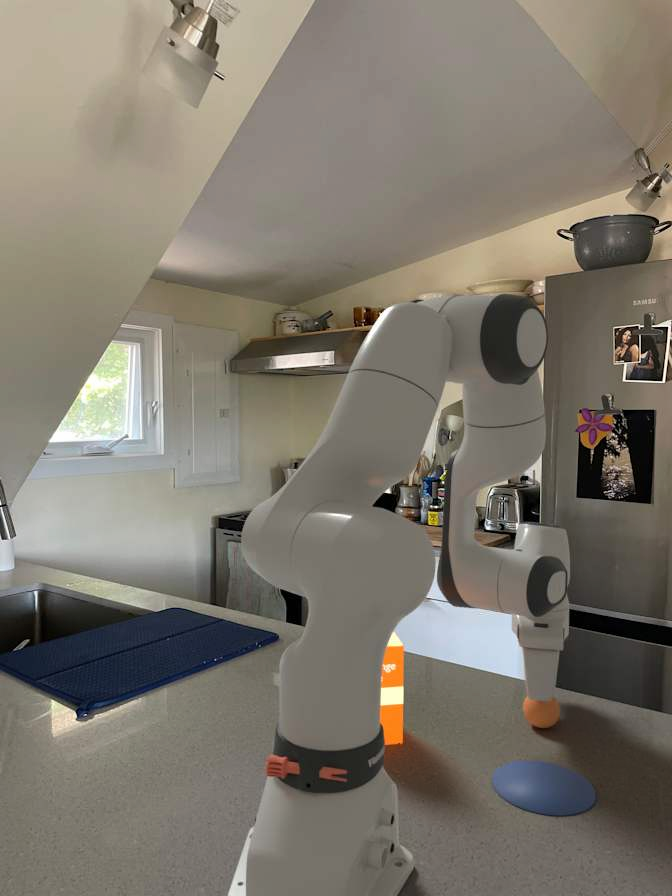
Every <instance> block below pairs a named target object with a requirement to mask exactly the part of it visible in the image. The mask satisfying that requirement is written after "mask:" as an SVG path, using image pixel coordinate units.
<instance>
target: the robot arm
mask: <svg viewBox="0 0 672 896" xmlns="http://www.w3.org/2000/svg"><path fill="white" fill-rule="evenodd" d="M548 331H549V330H548V324H547V320H546V317H545V315H544V313H543V312H542V310H541V309H540V308H539V306H538V305H537V304H536V302H534V300H533V299H531V298H530V297H526V296H524V295H523V296H522V295H517V294H511V293H510V294H509V293H501V294H498V295H485V294H473V295H472V294H469V295H465V294H451V295H444V296H439V297H438V296H437V297H433V298H428V299H420V298H419V299H413V300H410V301H406V302H399V303H396V304H392V305H391V306H389V307H387V308H386V309H385V310H383V312H381V314H380V315H379V317H378V318H377V319H376V321H375V322H374V324H373V325H372V327H371V328H370V329H369V332H368V333H367V335H366V337H365V338H364V340H363V341H362V344H361V345H360V348H359V349H358V351H357V353H356V355H355V357H354V359H353V362H352V363H351V366H350V368H349V371H348V372H347V373H348V374H347V376H346V377H345V379H344V380H345V381H343V385H342V387H341V389H340V392H339V395H338V397H337V400H336V402H335V404H334V406H333V409H332V411H331V413H330V416H329V418H328V420H327V421H326V422H327V423H326V424H325V427H324V429H323V431H322V433H321V435H320V436H319V439H318V440H317V442H315V445H314V446H313V448H312V449H311V451H310V452H309V454H307V456H306V458H304V460H303V462H301V464H300V465H299V467H298V468H297V469H296V470H295V472H294V473H293V474H292V475H291V477H290V478H289V479H288V480H287V481H286V483H285V484H284V485H283V486H282V487H281V488H279V490H278V491H277V492H276V493H274V494H273V495H272V496H270V497H268V498H267V499H265V500H264V501H261V502H260V503H259V504H257V505H256V506H255V507H254V508H253V509H252V510H251V512H250V513H249V514H248V515H247V518H246V519H245V522H244V524H243V528H242V530H241V536H240V544H241V545H240V546H241V547H240V548H241V552H242V555H243V558H244V560H245V561H246V564H247V565H248V566H249V568H250V569H251V570H253V572H255V573H256V574H258V575H259V577H261V578H262V579H263V580H265V581H266V582H268V583H269V584H271V585H272V586H273V587H275V588H278V589H279V590H284V591H286V592H289V593H292V594H295V595H296V596H297V595H298V596H300V597H304V598H306V600H307V602H308V614H307V619H306V624H305V626H304V627H305V628H304V629H303V634H302V636H301V637H300V638H298V639H296V640H295V641H293V642H292V643H291V644H290V645H289V646H287V647H286V648H285V650H284V651H283V653H282V656H281V657H280V660H279V667H278V668H279V669H278V670H279V672H278V673H279V674H278V675H279V676H278V677H279V678H278V679H279V680H278V682H279V684H278V685H279V689H278V690H279V691H278V700H279V701H278V705H279V706H278V707H279V709H278V715H279V716H278V719H279V720H278V723H277V724H276V727H275V734H274V738H273V740H272V748H271V749H272V751H271V753H272V754H270V755H269V756H268V758H267V761H266V764H265V765H266V766H265V774H266V776H267V777H266V781H265V786H264V788H263V792H262V795H261V799H260V804H259V806H258V811H257V814H256V816H255V817H254V825H253V826H252V827H251V828H250V829H249V830H248V832H247V836H246V839H245V842H244V844H243V848H242V851H241V854H240V856H239V859H238V863H237V865H236V868H235V871H234V874H233V877H232V880H231V884H230V886H229V889H228V893H227V895H226V896H398V895H399V894H400V892H401V890H402V888H403V887H404V885H405V884H406V882H407V880H408V879H409V877H410V876H411V873H412V872H413V870H414V868H415V861H414V859H415V858H414V855H413V854H412V852H411V851H409V850H408V849H407V848H406V847H404V846H403V845H402V844H400V834H399V833H400V832H399V831H400V830H399V827H400V826H399V801H398V797H399V795H398V787H397V785H396V784H395V782H394V780H393V779H391V777H390V775H389V774H388V773H387V771H386V770H385V768H384V762H385V750H386V745H385V738H384V729H383V726H382V724H381V723H380V708H381V682H382V667H383V661H384V656H385V652H386V648H387V645H388V642H389V640H390V637H391V635H392V633H393V631H394V632H395V629H396V627H397V626H398V625H399V624H400V622H401V621H402V620H403V619H404V618H405V617H407V616H409V615H410V614H411V613H413V612H414V611H415V610H417V609H418V608H419V606H420V605H421V604H422V603H423V602H424V600H425V599H426V598H427V596H428V594H429V592H430V591H431V588H432V586H433V584H434V580H435V574H436V584H437V586H438V589H439V591H440V592H441V594H442V595H443V597H444V598H445V600H446V601H447V602H448V603H449V604H450V605H451V606H453V607H454V608H455V607H456V608H467V609H480V610H486V611H490V612H497V613H501V614H510V615H511V631H512V633H514V634H515V636H516V638H517V641H518V646H519V647H520V648H521V650H522V657H523V667H524V676H525V677H524V678H525V687H526V695H527V696H528V698H529V699H531V700H538V701H552V699H553V696H554V695H555V692H556V691H555V689H556V684H557V675H558V667H559V658H560V651H563V650H564V647H565V645H564V644H565V641H566V639H567V637H568V636H569V634H570V632H569V631H570V630H569V628H570V626H569V625H570V601H569V597H568V586H569V584H570V579H571V558H570V557H571V556H570V545H569V538H568V533H567V530H566V529H565V528H564V527H562V526H561V525H557V524H552V523H543V522H535V521H524V522H523V521H522V522H521V523H518V526H517V529H516V535H515V539H514V547H513V549H508V548H502V547H494V546H488V545H487V546H486V545H483V544H481V543H480V542H478V541H477V539H476V538H475V530H476V529H475V528H476V527H475V526H476V524H475V523H476V511H477V498H478V494H479V492H480V490H482V489H485V488H487V487H490V486H492V485H496V484H499V483H500V484H501V483H502V482H505V481H509V480H510V479H511V480H512V479H514V478H516V477H517V476H519V475H522V474H523V473H525V472H526V471H528V470H529V469H531V467H533V466H534V465H535V464H536V463H537V461H538V460H539V459H540V458H541V456H542V454H543V452H544V449H545V448H546V447H545V446H546V440H547V438H546V437H547V426H546V425H547V423H546V411H545V403H544V393H543V388H542V383H541V379H540V373H539V368H540V366H541V365H542V363H543V362H544V359H545V356H546V354H547V351H548V350H547V349H548V344H549V332H548ZM446 382H447V383H448V382H449V383H450V382H451V383H454V384H462V413H463V423H464V430H463V432H464V433H463V438H462V441H461V444H460V446H459V448H456V449H455V450H453V452H452V453H451V455H450V456H449V459H448V462H447V466H446V471H445V478H444V490H443V503H442V504H443V506H442V507H443V508H442V527H441V529H442V530H441V531H442V532H441V545H440V546H441V547H440V554H439V559H438V564H437V566H436V563H437V562H436V553H435V549H434V545H433V542H432V540H431V538H430V536H429V534H428V533H427V531H426V530H425V529H424V528H423V527H422V526H421V525H419V524H418V523H416V522H414V521H412V520H410V519H408V518H406V517H404V516H403V515H400V514H397V513H395V512H392V511H391V510H388V509H385V508H383V507H377V506H373V505H374V504H375V503H376V501H377V500H378V499H379V498H380V497H381V496H382V495H383V494H384V493H385V492H386V491H387V490H388V489H390V488H392V487H393V486H395V485H396V484H398V483H401V482H402V481H403V480H406V479H407V478H408V477H409V476H410V475H411V474H412V473H413V472H414V470H415V469H416V467H417V465H418V463H419V460H420V458H421V455H422V452H423V449H424V447H425V444H426V442H427V438H428V436H429V433H430V431H431V427H432V425H433V422H434V420H435V416H436V413H437V411H438V409H439V406H440V402H441V399H442V396H443V392H444V390H445V386H446ZM436 567H437V571H436ZM554 697H555V696H554Z"/></svg>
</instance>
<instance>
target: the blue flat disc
mask: <svg viewBox="0 0 672 896" xmlns="http://www.w3.org/2000/svg"><path fill="white" fill-rule="evenodd" d="M491 785H492V788H493V789H494V791H495V792H496V793H497V795H499V796H500V798H502V799H504V800H505V802H507V803H509V804H511V805H513V806H515V807H517V808H519V809H522V810H525V811H528V812H531V813H536V814H540V815H545V816H557V817H558V816H559V817H560V816H563V817H565V816H573V815H577V814H580V813H583V812H586V811H588V810H589V809H591V808H592V806H593V805H594V804H595V803H596V799H597V793H596V792H597V791H596V789H595V787H594V786H593V784H592V783H591V782H590V781H589V780H588V779H587V778H585V777H584V775H581V774H580V773H578V772H577V771H574V770H573V769H570V768H568V767H566V766H562V765H559V764H555V763H551V762H547V761H539V760H520V761H519V760H518V761H513V762H509V763H508V762H507V763H506V764H503V765H501V766H500V767H498V768H496V769H495V770H494V771H493V774H492V776H491Z"/></svg>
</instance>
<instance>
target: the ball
mask: <svg viewBox="0 0 672 896" xmlns="http://www.w3.org/2000/svg"><path fill="white" fill-rule="evenodd" d="M522 704H523V705H522V711H523V714H524V716H525V718H526V719H525V720H527V721H528V723H530V724H531V725H532V726H534V727H536V728H540V729H548V728H550V727H552V726H553V725H556V723H557V722H558V720H559V717H560V716H561V715H560V713H561V708H560V704H559V702H558V700H557V699H556V698H555V696H553V699H552V701H538V700H531V699H529V698H528V695H527V696H526V697H525V699H524V701H523V703H522Z"/></svg>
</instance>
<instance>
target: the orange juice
mask: <svg viewBox="0 0 672 896" xmlns="http://www.w3.org/2000/svg"><path fill="white" fill-rule="evenodd" d="M397 635H398V634H396V632H395V630H394V631H393V633H392V635H391V637H390V640H389V642H388V645H387V648H386V652H385V656H384V661H383V667H382V682H381V708H380V723H381V724H382V726H383V729H384V738H385V746H389V745H398V743H400V744H403V741H404V740H403V739H404V734H403V733H404V732H403V731H404V729H403V728H404V691H405V690H404V687H405V686H404V661H405V659H404V658H405V657H404V656H405V655H404V652H405V650H404V649H405V646H404V644H403V642H402V641H401V640H400V638H399V636H397Z"/></svg>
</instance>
